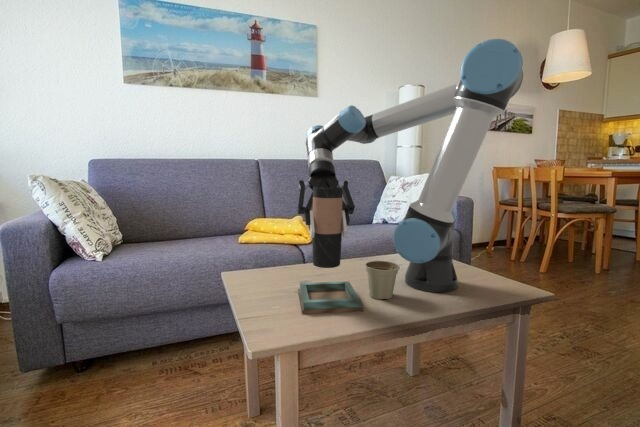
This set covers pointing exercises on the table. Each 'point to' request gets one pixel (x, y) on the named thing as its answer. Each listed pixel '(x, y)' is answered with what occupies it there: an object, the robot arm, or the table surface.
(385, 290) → the flower pot
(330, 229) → the travel mug
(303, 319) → the table surface
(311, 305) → the coaster dock
